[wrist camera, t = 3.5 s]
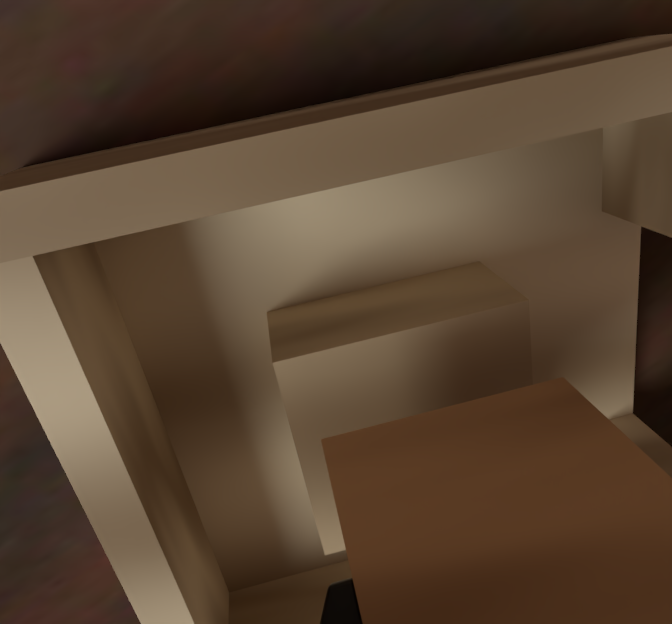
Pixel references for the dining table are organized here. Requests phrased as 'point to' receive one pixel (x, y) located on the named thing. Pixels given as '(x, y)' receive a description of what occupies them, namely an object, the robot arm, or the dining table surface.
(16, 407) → the dining table surface
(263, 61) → the dining table surface
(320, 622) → the robot arm
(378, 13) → the dining table surface
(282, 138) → the access box
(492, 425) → the teak block
